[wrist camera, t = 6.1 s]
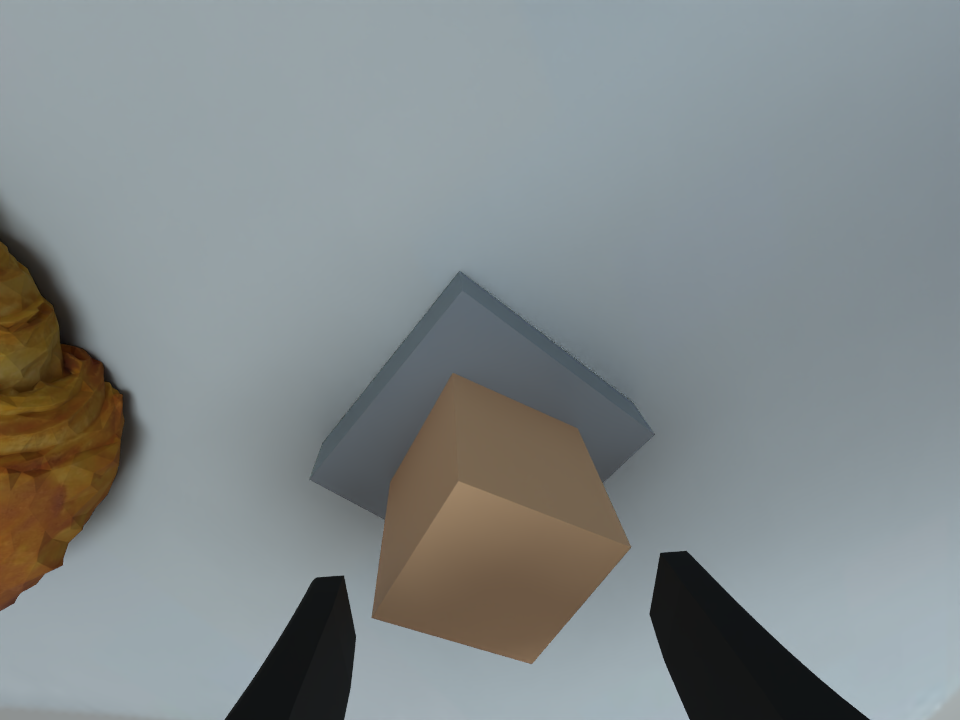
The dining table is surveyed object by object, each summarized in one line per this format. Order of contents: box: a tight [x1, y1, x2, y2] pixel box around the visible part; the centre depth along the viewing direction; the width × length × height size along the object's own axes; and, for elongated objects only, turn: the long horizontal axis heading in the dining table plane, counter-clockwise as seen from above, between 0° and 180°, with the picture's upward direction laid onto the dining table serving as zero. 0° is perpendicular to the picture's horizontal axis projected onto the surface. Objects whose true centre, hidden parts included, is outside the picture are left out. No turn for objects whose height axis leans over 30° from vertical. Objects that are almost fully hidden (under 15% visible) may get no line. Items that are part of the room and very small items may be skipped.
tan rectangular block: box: [372, 373, 631, 664], centre depth 14 cm, size 4×4×5 cm
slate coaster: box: [309, 271, 655, 519], centre depth 17 cm, size 8×8×2 cm
